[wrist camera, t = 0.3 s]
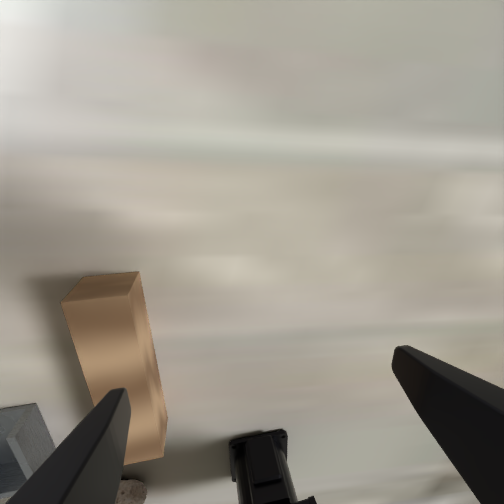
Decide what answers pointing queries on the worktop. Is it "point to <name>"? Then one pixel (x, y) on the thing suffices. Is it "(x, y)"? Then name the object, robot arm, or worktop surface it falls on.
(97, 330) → the walnut rail
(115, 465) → the robot arm
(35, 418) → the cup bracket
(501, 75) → the worktop surface
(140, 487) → the pumice stone
